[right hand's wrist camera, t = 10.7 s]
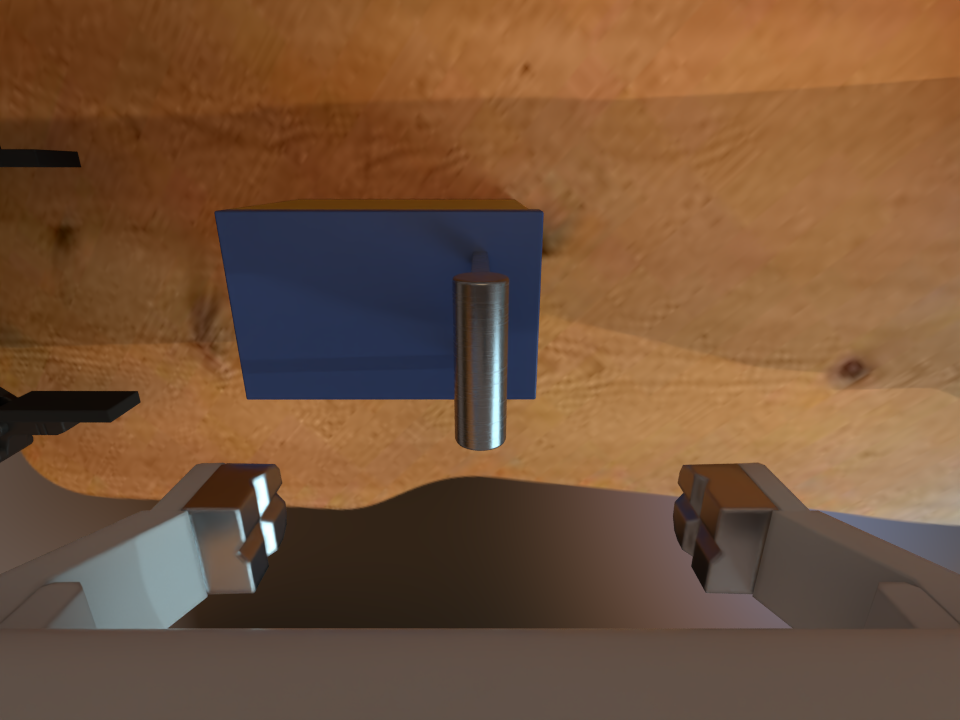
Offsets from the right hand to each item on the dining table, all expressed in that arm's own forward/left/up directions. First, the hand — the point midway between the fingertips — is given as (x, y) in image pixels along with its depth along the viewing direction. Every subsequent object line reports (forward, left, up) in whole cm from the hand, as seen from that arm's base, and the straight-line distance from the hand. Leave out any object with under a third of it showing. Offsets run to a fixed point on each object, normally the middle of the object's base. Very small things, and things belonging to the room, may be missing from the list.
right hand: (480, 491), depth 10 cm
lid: (+2, +4, -15) cm, 16 cm away
